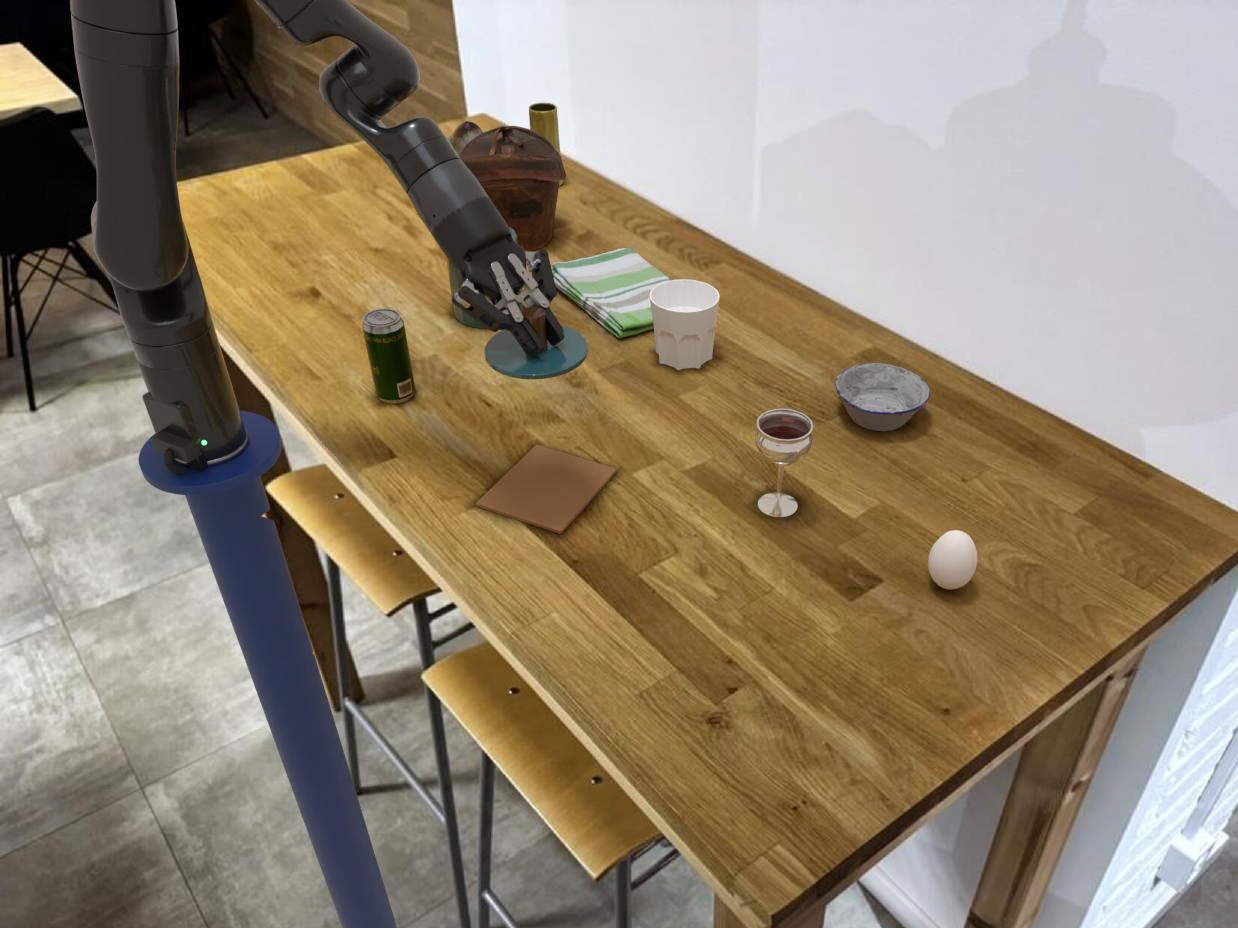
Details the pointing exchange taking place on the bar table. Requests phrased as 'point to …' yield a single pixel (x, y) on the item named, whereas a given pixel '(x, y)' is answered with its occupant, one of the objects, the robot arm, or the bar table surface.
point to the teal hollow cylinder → (456, 285)
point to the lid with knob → (549, 363)
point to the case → (518, 179)
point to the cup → (684, 322)
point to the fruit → (463, 135)
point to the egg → (952, 560)
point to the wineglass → (782, 452)
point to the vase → (545, 123)
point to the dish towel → (612, 289)
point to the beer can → (388, 355)
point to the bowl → (881, 395)
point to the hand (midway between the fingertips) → (548, 347)
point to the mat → (547, 488)
